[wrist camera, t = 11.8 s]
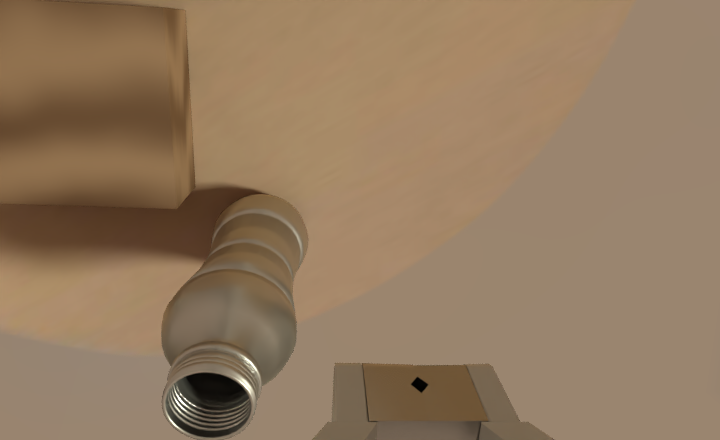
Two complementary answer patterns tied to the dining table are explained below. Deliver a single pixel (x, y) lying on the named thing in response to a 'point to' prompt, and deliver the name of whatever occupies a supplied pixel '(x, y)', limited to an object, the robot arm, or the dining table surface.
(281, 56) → the dining table surface
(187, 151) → the brown wooden block
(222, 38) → the dining table surface
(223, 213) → the plastic bottle
